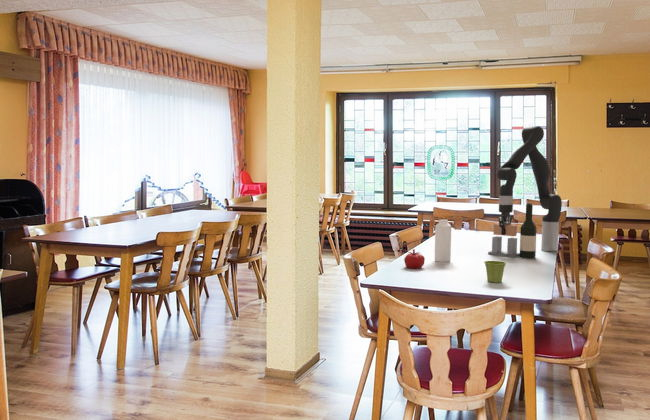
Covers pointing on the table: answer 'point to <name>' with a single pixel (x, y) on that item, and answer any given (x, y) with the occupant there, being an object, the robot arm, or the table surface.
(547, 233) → the robot arm
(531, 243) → the wine bottle
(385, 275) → the table surface
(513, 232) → the rectangular block
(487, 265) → the plant pot
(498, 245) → the stand
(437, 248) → the milk
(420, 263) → the red apple
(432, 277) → the table surface
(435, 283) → the table surface
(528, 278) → the table surface
